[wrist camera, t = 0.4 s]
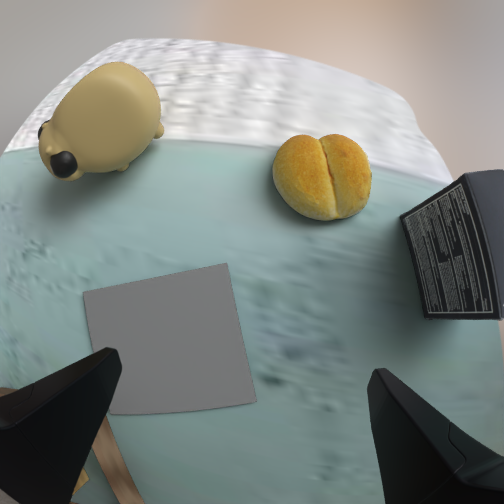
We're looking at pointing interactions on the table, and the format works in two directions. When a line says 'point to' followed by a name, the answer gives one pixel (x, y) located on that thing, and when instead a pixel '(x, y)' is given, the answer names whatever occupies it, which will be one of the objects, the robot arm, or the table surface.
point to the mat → (173, 342)
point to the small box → (460, 248)
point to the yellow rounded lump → (323, 176)
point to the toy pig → (101, 123)
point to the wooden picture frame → (109, 463)
